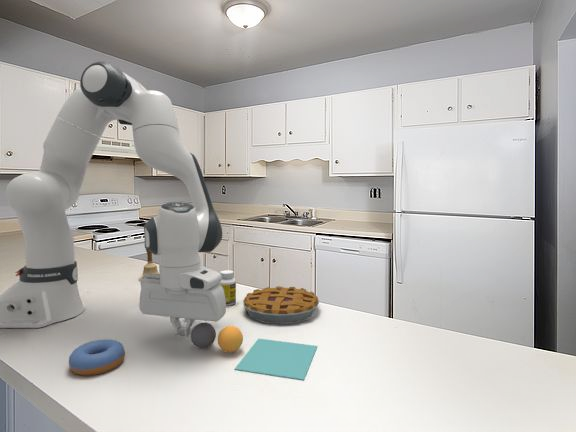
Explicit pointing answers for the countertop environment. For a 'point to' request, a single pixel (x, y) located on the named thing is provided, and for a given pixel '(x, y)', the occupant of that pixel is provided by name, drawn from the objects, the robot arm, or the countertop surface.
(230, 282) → the supplement bottle
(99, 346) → the doughnut
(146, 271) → the hand bell
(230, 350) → the ball
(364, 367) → the countertop surface
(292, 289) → the pie
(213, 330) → the ball
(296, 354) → the mark
